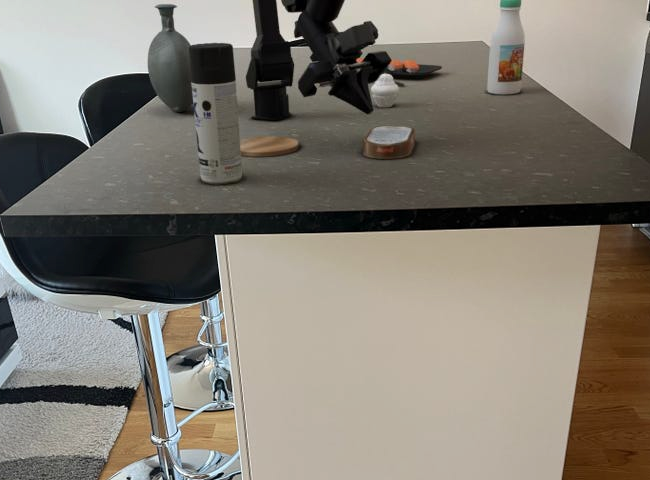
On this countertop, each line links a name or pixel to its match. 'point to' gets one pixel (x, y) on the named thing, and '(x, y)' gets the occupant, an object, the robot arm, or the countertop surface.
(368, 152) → the tin
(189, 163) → the countertop surface
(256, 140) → the wooden coaster
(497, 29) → the milk bottle
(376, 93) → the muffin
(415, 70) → the sushi plate
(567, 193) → the countertop surface
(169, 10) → the flask
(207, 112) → the spray can
